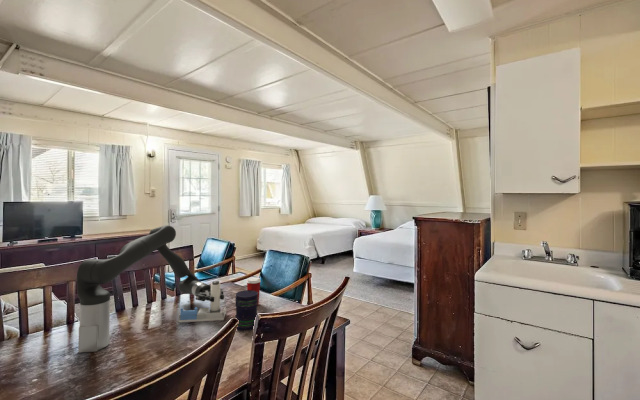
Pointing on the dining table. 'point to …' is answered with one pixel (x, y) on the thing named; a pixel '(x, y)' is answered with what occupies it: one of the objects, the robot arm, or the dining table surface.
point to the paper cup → (254, 285)
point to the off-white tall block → (215, 297)
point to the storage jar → (246, 309)
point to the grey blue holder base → (200, 315)
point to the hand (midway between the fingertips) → (218, 298)
